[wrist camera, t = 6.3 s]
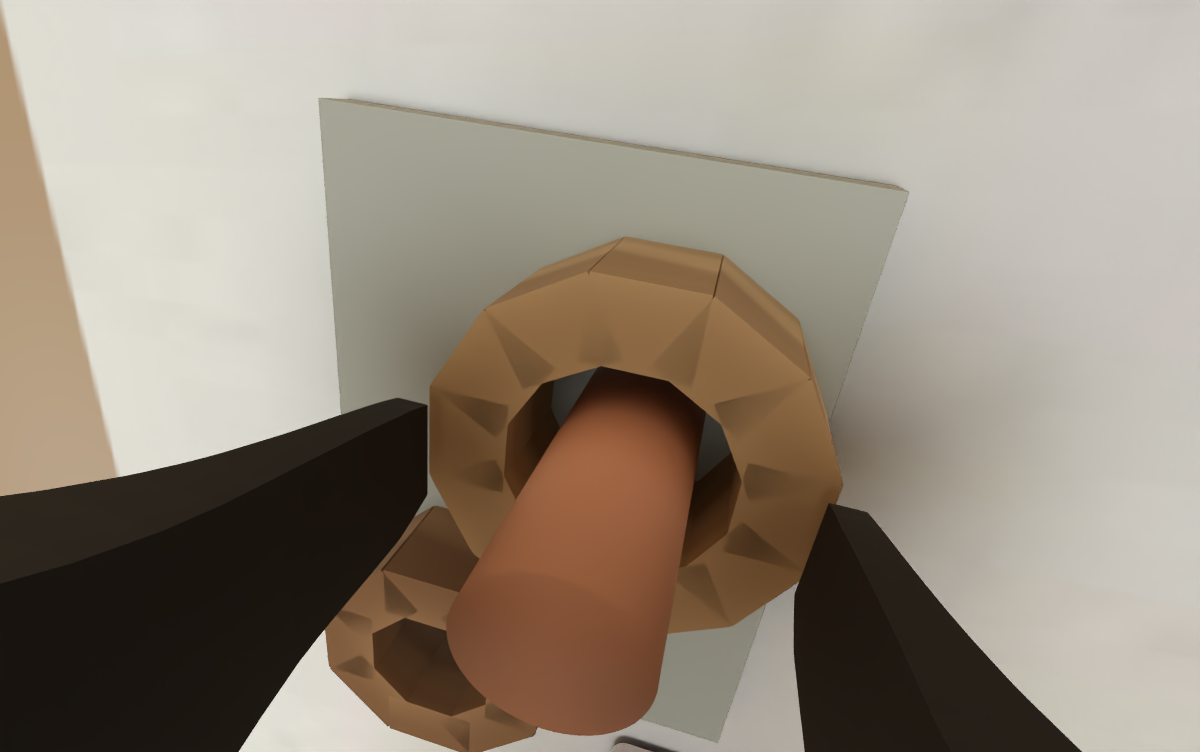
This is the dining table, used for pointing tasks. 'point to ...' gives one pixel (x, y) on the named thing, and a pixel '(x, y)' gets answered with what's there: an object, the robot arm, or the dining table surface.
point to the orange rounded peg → (586, 564)
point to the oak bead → (664, 351)
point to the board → (558, 231)
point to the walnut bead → (417, 643)
